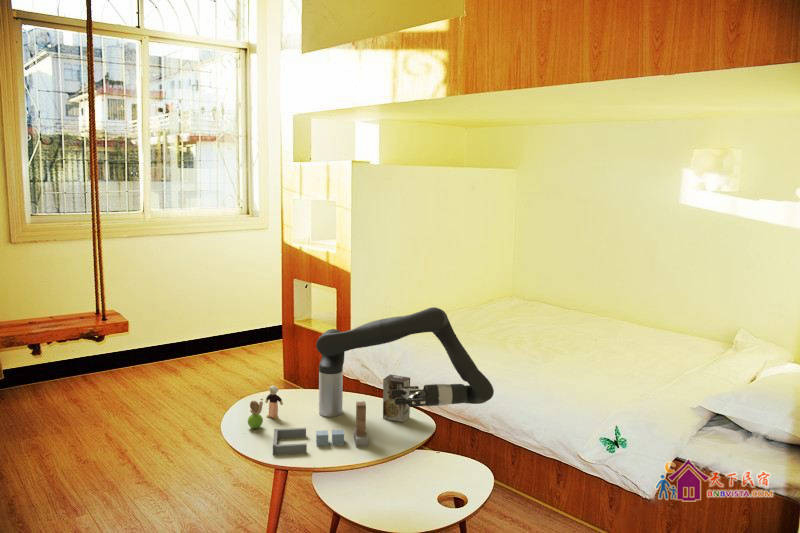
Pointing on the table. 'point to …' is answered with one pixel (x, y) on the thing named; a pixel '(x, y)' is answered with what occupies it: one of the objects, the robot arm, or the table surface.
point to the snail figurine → (255, 414)
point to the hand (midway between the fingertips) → (393, 397)
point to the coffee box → (389, 406)
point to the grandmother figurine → (273, 402)
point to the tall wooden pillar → (360, 425)
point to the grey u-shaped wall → (289, 447)
